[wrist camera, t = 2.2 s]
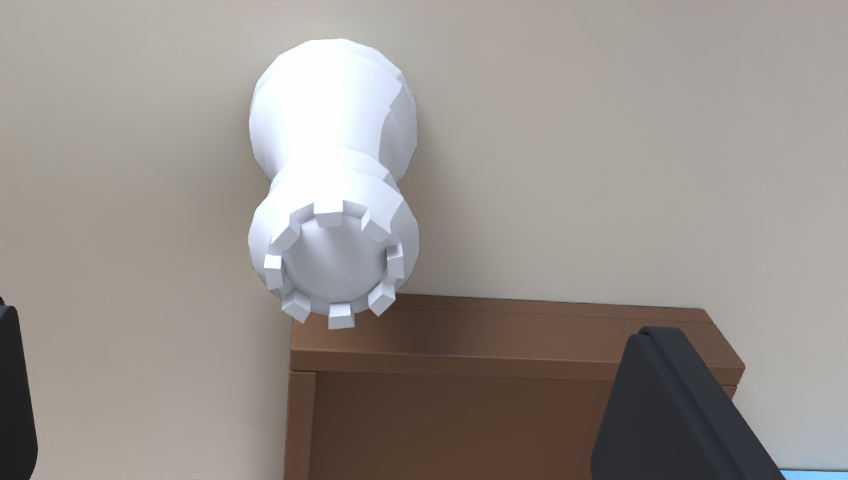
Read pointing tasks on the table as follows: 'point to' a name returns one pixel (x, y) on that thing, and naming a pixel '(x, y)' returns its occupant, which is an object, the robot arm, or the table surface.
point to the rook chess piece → (333, 180)
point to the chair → (814, 475)
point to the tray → (467, 387)
